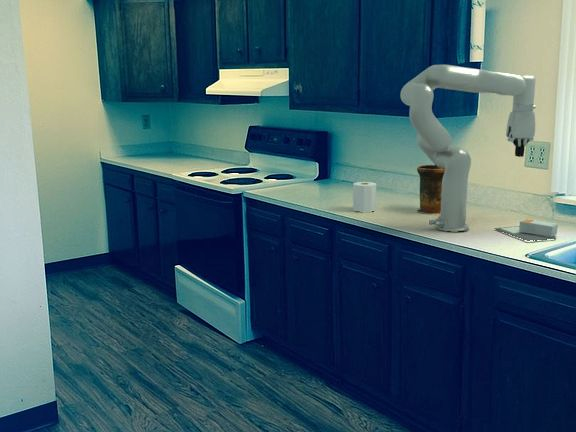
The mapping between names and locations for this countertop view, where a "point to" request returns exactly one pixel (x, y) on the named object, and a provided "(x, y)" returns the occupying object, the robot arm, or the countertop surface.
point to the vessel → (430, 188)
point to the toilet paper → (364, 196)
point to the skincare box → (538, 227)
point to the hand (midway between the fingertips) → (519, 156)
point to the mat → (522, 234)
